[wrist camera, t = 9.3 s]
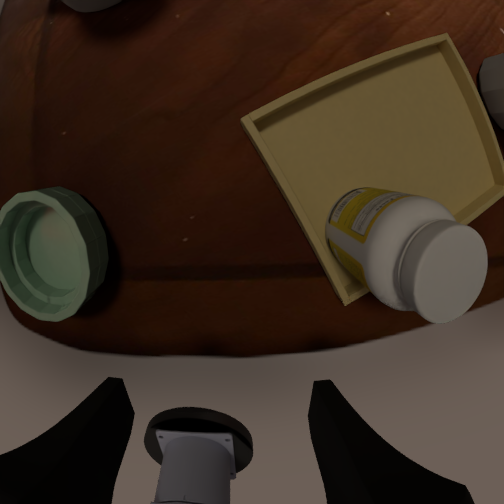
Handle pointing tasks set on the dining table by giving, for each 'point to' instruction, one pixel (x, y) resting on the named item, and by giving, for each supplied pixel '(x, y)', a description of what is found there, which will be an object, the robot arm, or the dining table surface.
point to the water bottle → (493, 87)
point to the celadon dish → (51, 252)
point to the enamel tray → (381, 141)
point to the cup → (90, 4)
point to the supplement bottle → (408, 251)
